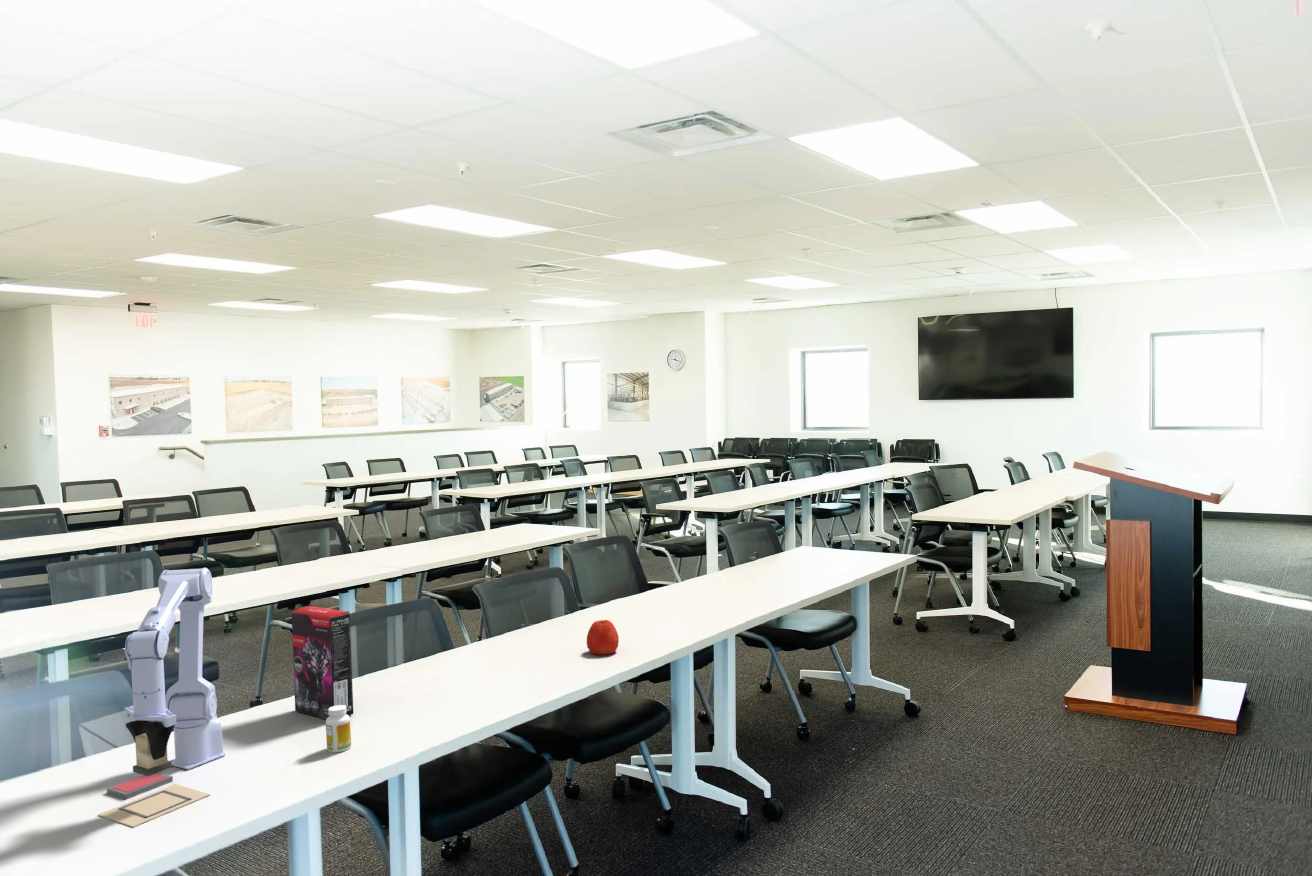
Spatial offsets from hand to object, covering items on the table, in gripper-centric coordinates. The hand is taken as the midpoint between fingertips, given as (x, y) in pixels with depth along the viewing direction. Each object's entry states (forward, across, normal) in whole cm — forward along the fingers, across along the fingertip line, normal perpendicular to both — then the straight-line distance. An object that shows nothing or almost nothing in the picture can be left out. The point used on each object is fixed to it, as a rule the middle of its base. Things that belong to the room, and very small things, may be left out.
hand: (152, 756), depth 183 cm
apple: (+10, +22, +133) cm, 135 cm away
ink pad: (+10, -12, +4) cm, 16 cm away
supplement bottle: (+10, +10, +38) cm, 41 cm away
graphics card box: (+10, -14, +54) cm, 57 cm away
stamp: (+3, 0, 0) cm, 3 cm away
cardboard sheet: (+10, 0, 0) cm, 10 cm away
